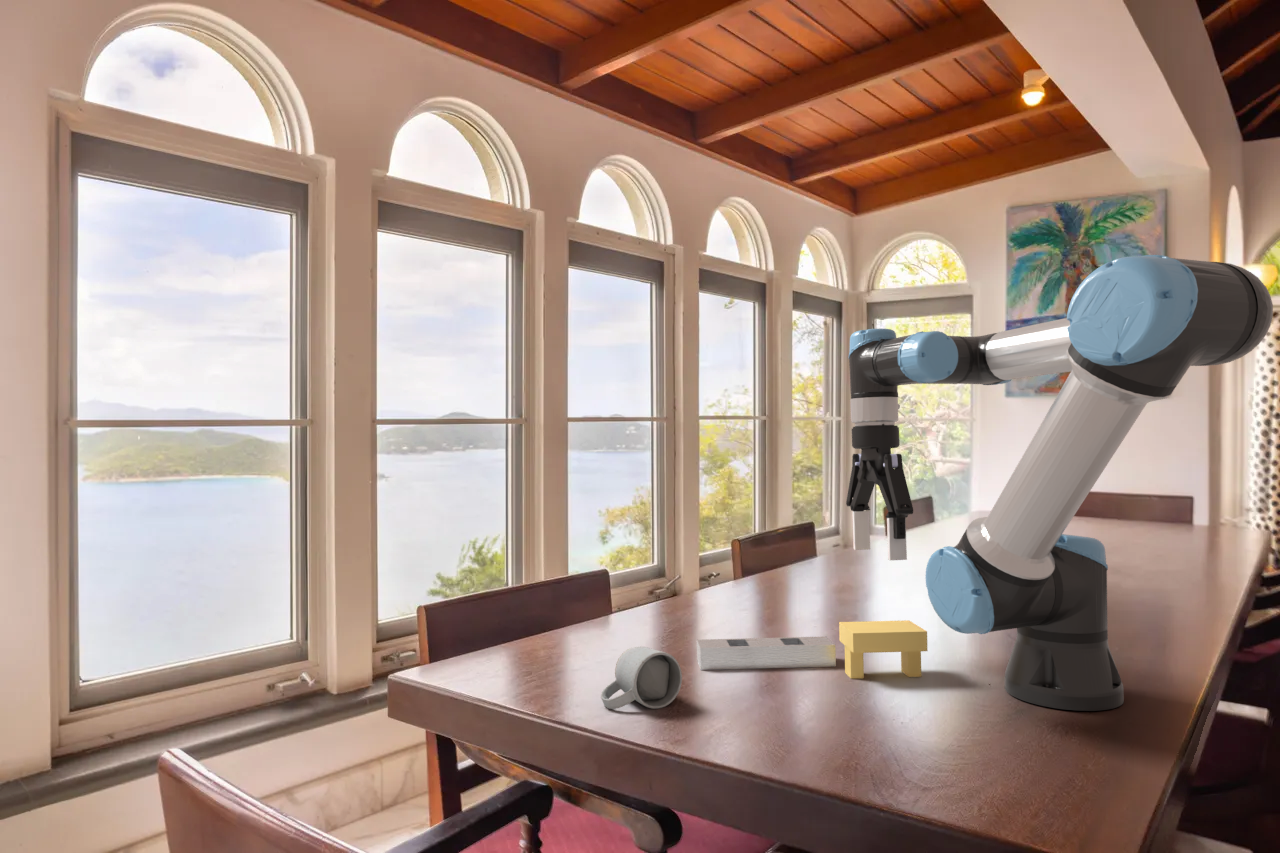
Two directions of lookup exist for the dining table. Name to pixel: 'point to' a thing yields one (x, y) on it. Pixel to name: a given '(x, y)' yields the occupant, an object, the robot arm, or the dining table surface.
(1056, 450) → the robot arm
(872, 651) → the yellow bridge
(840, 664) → the dining table surface
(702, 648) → the rail
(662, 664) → the ceramic mug
